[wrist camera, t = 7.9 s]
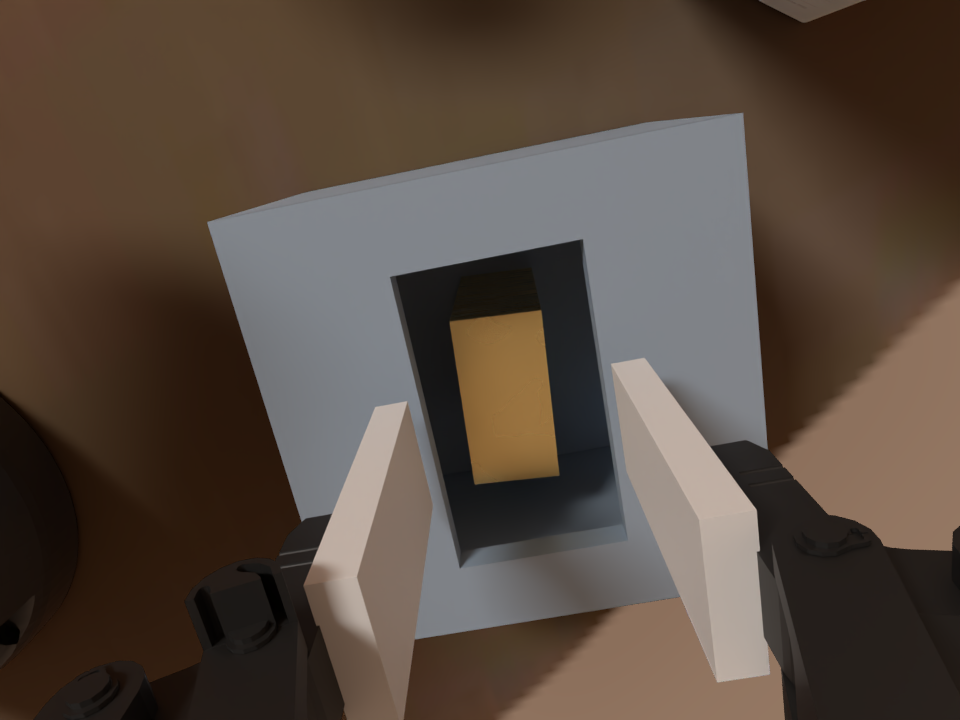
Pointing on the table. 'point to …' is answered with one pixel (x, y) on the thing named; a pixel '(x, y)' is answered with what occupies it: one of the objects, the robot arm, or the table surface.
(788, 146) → the table surface
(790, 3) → the small box
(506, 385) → the tan wooden block
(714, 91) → the table surface
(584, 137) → the coin box
